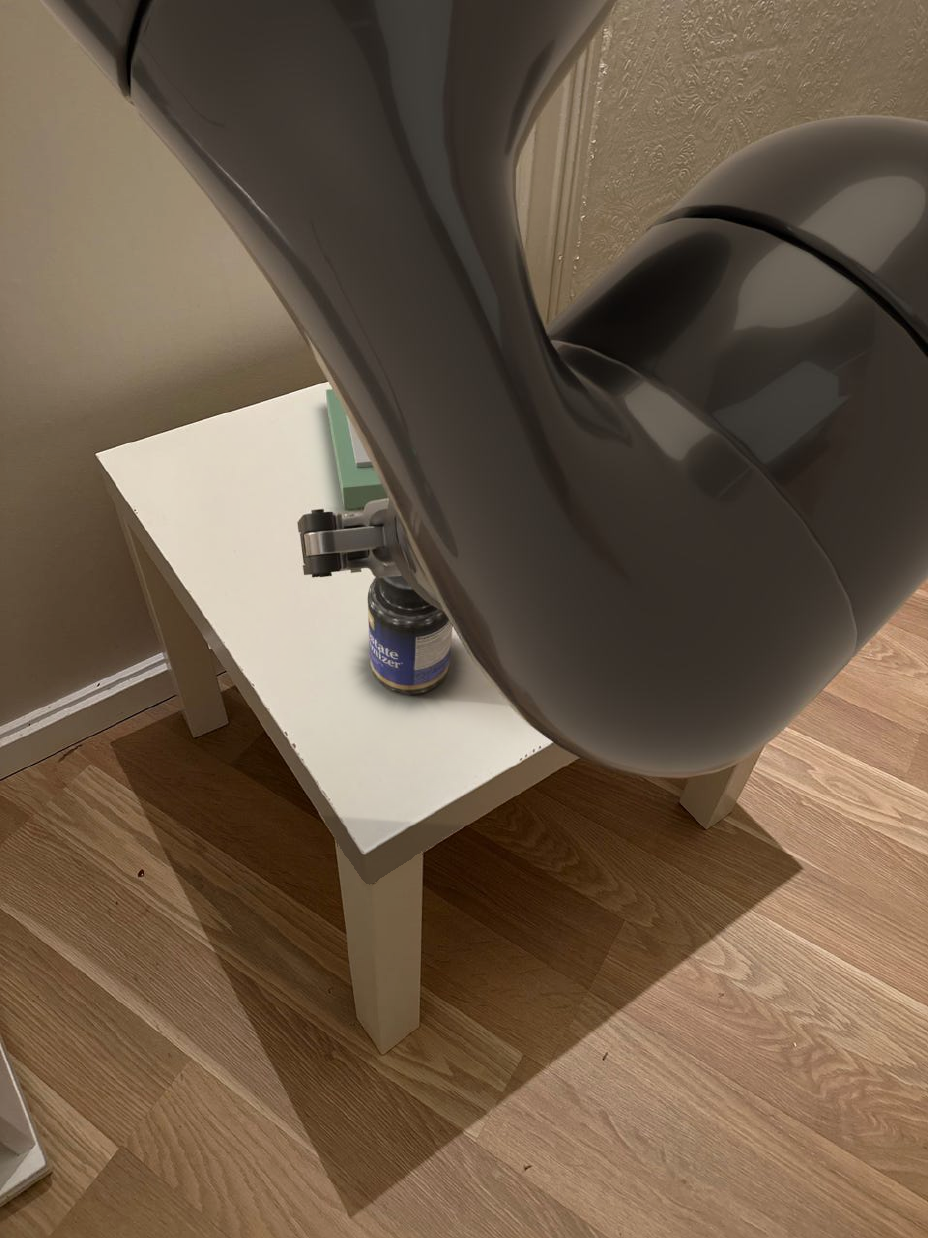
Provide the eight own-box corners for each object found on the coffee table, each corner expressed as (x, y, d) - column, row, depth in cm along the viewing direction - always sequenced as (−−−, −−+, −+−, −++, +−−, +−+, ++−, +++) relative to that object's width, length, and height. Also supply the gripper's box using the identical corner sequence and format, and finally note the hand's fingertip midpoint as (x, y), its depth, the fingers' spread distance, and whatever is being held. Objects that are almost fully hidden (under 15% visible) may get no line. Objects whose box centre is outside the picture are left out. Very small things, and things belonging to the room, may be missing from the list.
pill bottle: (354, 657, 68) (347, 554, 60) (419, 623, 71) (421, 520, 63) (400, 711, 65) (399, 610, 57) (466, 673, 68) (474, 571, 60)
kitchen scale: (344, 510, 79) (342, 482, 77) (327, 411, 89) (325, 383, 87) (496, 495, 82) (499, 467, 79) (464, 400, 91) (465, 373, 89)
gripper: (690, 390, 31) (562, 451, 47) (282, 425, 29) (292, 477, 45) (710, 601, 32) (576, 591, 48) (311, 652, 30) (310, 624, 46)
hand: (438, 536), depth 46 cm, fingers open, 8 cm apart
